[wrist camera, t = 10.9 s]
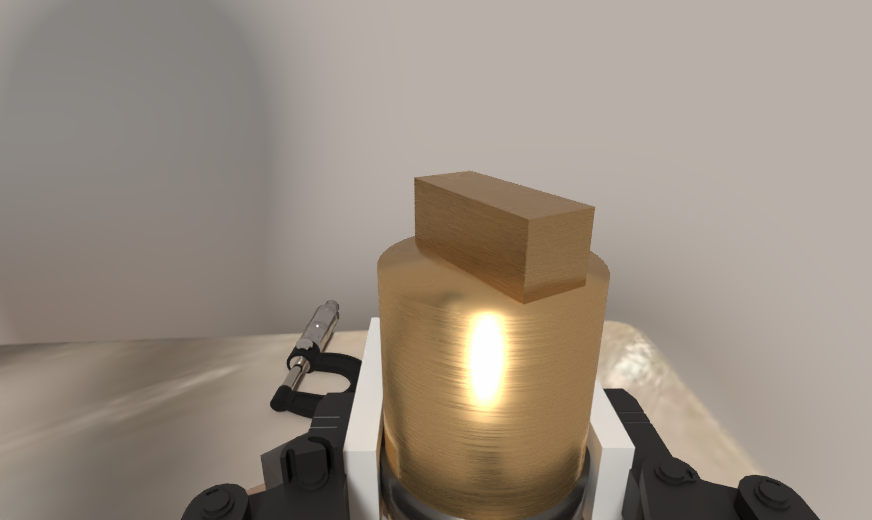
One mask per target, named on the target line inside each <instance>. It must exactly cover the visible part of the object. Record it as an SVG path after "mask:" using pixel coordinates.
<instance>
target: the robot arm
mask: <svg viewBox="0 0 872 520" xmlns="http://www.w3.org/2000/svg"><path fill="white" fill-rule="evenodd" d="M383 427H384V409H383V386H382V363H381V341H380V318H372V319H371V323H370V328H369V332H368V337H367V342H366V346H365V351H364V356H363V360H362V365H361V369H360V374H359V379H358V383H357V388H356V392H346V393H327V394H326V395H325V396H324V397H323V398H322V400H321V401H320V402H319V403H318V404H317V407H316V410H315V413H314V418H313V419H312V423H311V426H310V429H309V432H308V434H305V435H301V436H298V437H296V438H295V439H293V440H291V441H290V442H288V443H287V445H286V446H285V447H284V448H283V449H282V452H281V455H280V464H281V471H282V478H283V483H282V484H280V485H278V486H276V487H274V488H271V489H269V490H266V491H262V492H258V493H255V494H251V495H247V492H246V490H245V489H244V488H242V487H241V486H239V485H236V484H228V483H227V484H221V485H215V486H213V487H211V488H209V489H206V490H204V491H203V492H201V493H200V494H199V495H198V496H196V497H195V498H194V499H193V500H192V501H191V503H190V504H189V505H188V507H187V508H186V510H185V512H184V514H183V516H182V518H181V520H382V516H383V505H384V501H383V497H382V488H381V467H380V449H381V440H382V432H383ZM586 445H587V447H588V450H589V452H590V471H589V478H588V484H587V491H586V498H585V505H584V510H583V514H582V515H583V518H584V520H622V517H623V519H624V520H820V519H819V518H818V517H817V516H816V514H815V513H814V512H813V511H812V510H811V509H810V507H809V506H808V505H807V504H806V502H805V501H804V500H803V499H802V498H801V497H800V496H799V495H798V494H797V493H796V492H795V491H794V490H793V489H792V488H790V487H788V486H786V485H785V484H783V483H781V482H780V481H778V480H775V479H772V478H769V477H767V476H760V475H750V476H745V477H744V478H743V479H741V480H740V482H739V485H738V489H737V488H733V487H728V486H724V485H719V484H715V483H711V482H708V481H704V480H702V479H700V477H699V475H698V473H697V472H696V471H695V470H694V469H693V468H692V467H691V466H690V465H689V464H687V463H685V462H683V461H681V460H680V459H678V458H674V457H672V455H671V453H670V452H669V450H668V449H667V447H666V446H665V444H664V442H663V441H662V439H661V438H660V436H659V435H658V433H657V431H656V430H655V428H654V427H653V425H652V424H651V423H650V420H649V419H648V417H647V416H646V414H645V413H644V411H643V409H642V408H641V406H640V405H639V403H638V402H637V400H636V399H635V398H634V397H633V396H631V395H630V394H629V393H628V392H626V391H625V390H624V389H602V387H601V385H600V383H599V381H598V380H597V378H596V380H595V387H594V394H593V402H592V409H591V416H590V423H589V430H588V437H587V444H586Z"/></svg>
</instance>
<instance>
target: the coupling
mask: <svg viewBox="0 0 872 520" xmlns="http://www.w3.org/2000/svg"><path fill="white" fill-rule="evenodd" d="M414 181H415V182H414V186H415V236H413V237H411V238H408V239H405V240H403V241H400V242H398V243H396V244H394V245H393V246H391V247H389V248H388V249H387V250H386V251H385V252H384V253H383V254H382V255H381V256H380V258H379V260H378V266H377V272H378V294H379V315H380V316H379V318H380V341H381V363H382V386H383V409H384V427H383V432H382V440H381V449H380V467H381V488H382V497H383V501H384V504H385V507H386V509H387V511H388V520H581V517H582V514H583V510H584V505H585V498H586V491H587V484H588V478H589V471H590V452H589V450H588V447H587V445H586V444H587V437H588V430H589V423H590V416H591V409H592V402H593V394H594V387H595V380H596V373H597V366H598V359H599V352H600V345H601V337H602V330H603V323H604V316H605V309H606V302H607V294H608V286H609V280H610V272H609V269H608V267H607V265H606V264H605V263H604V261H603V260H602V259H600V258H599V257H598V256H597V255H596V254H594V253H593V252H591V251H590V244H591V236H592V227H593V219H594V211H595V207H593V206H590V205H587V204H583V203H579V202H576V201H572V200H569V199H566V198H562V197H559V196H556V195H552V194H549V193H545V192H542V191H538V190H535V189H531V188H528V187H524V186H521V185H518V184H514V183H511V182H507V181H504V180H501V179H497V178H494V177H490V176H487V175H483V174H479V173H476V172H473V171H465V172H457V173H449V174H441V175H432V176H424V177H415V178H414Z"/></svg>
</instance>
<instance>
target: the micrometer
mask: <svg viewBox="0 0 872 520" xmlns="http://www.w3.org/2000/svg"><path fill="white" fill-rule="evenodd" d="M338 310H339V304H338V303H337V302H336V301H334V300H329V301H327V302H326V304H324V305H321V306H320V307H318V308H317V310H316V312H315V314H314V316H313V318H312V319H311V321H310V323H309V324H308V325H307V326H306V328H305V330H304V332H303V334H302V336H301V338H300V339H299V341H297V343H296V346H295V347H294V349H293V351H292V352H291V354H290V356H289V357H288V359H287V367H288V369H289V370H290V372H289V374H288V376H287V377H286V379H285V381H284V382H283V384H282V386H280V387H279V388H278V390H277V392H276V393H275V395H274V397H273V399H272V400H271V402H270V406H271V408H272V409H273V410H275V411H282V410H284V409H286V410H288V411H290V412H293V413H295V414H298V415H301V416H304V417H308V418H312V419H313V418H314V413H315V410H316V407H317V404H318V403H319V402H320V401H321V400H322V398H323V397H324V396H325V395H318V394H311V393H305V392H298V391H292V390H293V388H294V387H295V385H296V383H297V381H298V379H299V377H300V375H301V373H311V372H312V370H319V371H326V372H333V373H338V374H341V375H343V376H345V377H346V378H347V379H348V380H349V381H350V383H351V385H350V387H349V388H348V389H347V390H346V391H344V392H342V393H346V392H356V388H357V383H358V379H359V374H360V369H361V365H362V361H361V360H359V359H357V358H355V357H352V356H349V355H345V354H339V353H321V352H322V350H323V348H324V346H325V344H326V343H327V342H328V340H329V337H330V335H331V332H332V330H333V328H334V326H335V325H336V323H337V321H338V319H339V312H338Z"/></svg>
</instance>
